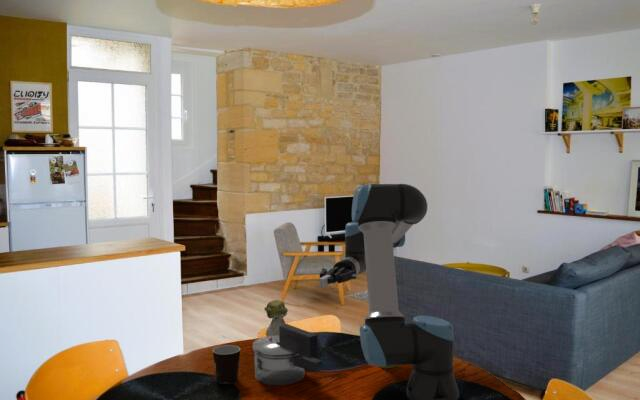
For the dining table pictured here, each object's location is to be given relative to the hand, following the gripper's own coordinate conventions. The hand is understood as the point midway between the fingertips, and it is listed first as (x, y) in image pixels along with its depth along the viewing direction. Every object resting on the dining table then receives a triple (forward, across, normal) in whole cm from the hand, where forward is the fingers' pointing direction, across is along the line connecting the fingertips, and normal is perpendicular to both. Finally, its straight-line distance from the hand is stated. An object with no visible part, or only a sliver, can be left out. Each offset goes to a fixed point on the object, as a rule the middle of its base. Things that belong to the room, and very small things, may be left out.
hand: (321, 283), depth 188 cm
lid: (+8, +8, -21) cm, 24 cm away
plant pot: (-15, -18, -30) cm, 38 cm away
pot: (+7, +9, -30) cm, 32 cm away
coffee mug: (+15, +26, -30) cm, 42 cm away
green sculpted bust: (-15, +24, -30) cm, 41 cm away
